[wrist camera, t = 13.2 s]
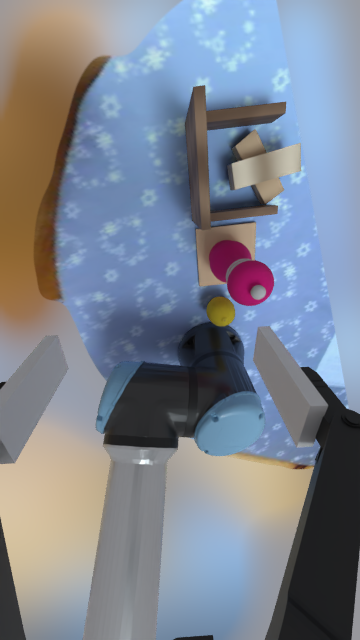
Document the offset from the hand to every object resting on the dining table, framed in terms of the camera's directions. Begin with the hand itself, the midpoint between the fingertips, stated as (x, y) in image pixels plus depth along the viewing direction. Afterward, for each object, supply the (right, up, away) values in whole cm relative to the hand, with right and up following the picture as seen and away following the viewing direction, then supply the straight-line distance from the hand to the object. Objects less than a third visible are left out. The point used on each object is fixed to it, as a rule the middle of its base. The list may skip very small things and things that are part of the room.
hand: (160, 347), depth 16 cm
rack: (+9, +27, +24) cm, 37 cm away
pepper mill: (+10, +14, +30) cm, 35 cm away
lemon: (+9, +6, +35) cm, 37 cm away
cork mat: (+10, +15, +31) cm, 35 cm away
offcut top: (+14, +26, +22) cm, 37 cm away
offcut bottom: (+14, +27, +25) cm, 39 cm away
